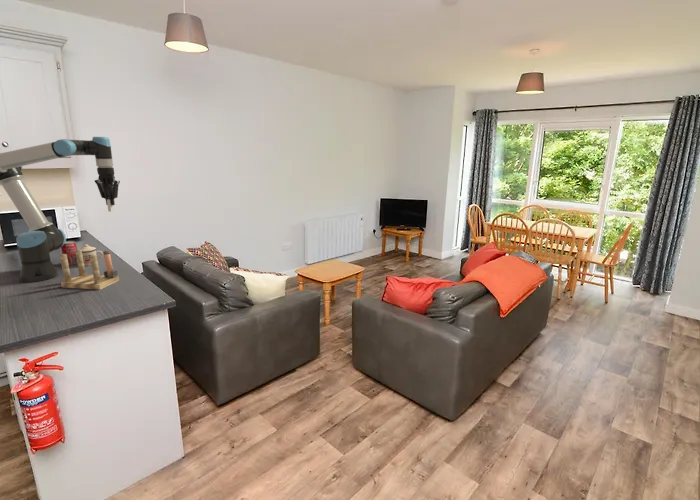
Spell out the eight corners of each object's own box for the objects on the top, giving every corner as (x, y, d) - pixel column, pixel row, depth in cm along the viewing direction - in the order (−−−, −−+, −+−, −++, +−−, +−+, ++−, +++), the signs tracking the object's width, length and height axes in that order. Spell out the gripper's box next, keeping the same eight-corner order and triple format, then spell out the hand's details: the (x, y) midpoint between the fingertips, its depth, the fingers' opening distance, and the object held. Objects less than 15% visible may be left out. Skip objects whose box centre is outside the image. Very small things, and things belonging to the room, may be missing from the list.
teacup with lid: (79, 267, 210) (75, 247, 207) (79, 263, 217) (76, 244, 214) (104, 264, 217) (101, 244, 214) (104, 260, 224) (101, 241, 221)
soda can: (82, 262, 219) (78, 241, 216) (72, 265, 212) (68, 243, 209) (71, 261, 220) (67, 240, 217) (61, 265, 213) (56, 243, 210)
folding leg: (106, 277, 187) (101, 252, 183) (110, 275, 189) (105, 250, 185) (111, 277, 187) (107, 252, 183) (115, 275, 189) (111, 250, 185)
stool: (61, 287, 180) (55, 255, 176) (82, 278, 192) (77, 248, 188) (100, 289, 178) (95, 257, 174) (119, 280, 190) (114, 250, 186)
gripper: (121, 167, 200) (127, 210, 206) (98, 166, 201) (105, 209, 207) (111, 167, 193) (117, 212, 199) (88, 167, 194) (95, 211, 200)
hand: (111, 211), depth 203 cm, fingers closed
